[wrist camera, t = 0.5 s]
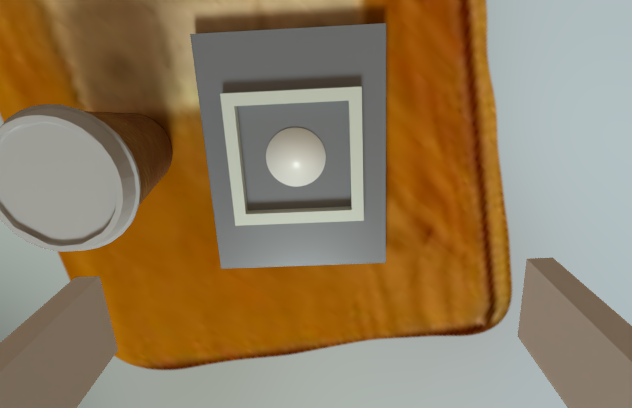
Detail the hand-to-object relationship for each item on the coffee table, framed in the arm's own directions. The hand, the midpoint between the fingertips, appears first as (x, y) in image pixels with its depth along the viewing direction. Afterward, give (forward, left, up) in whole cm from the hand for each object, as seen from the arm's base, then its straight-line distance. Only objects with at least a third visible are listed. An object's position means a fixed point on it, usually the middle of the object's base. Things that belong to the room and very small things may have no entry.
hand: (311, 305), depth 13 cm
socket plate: (0, -2, -25) cm, 25 cm away
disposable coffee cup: (-1, -16, -25) cm, 30 cm away
